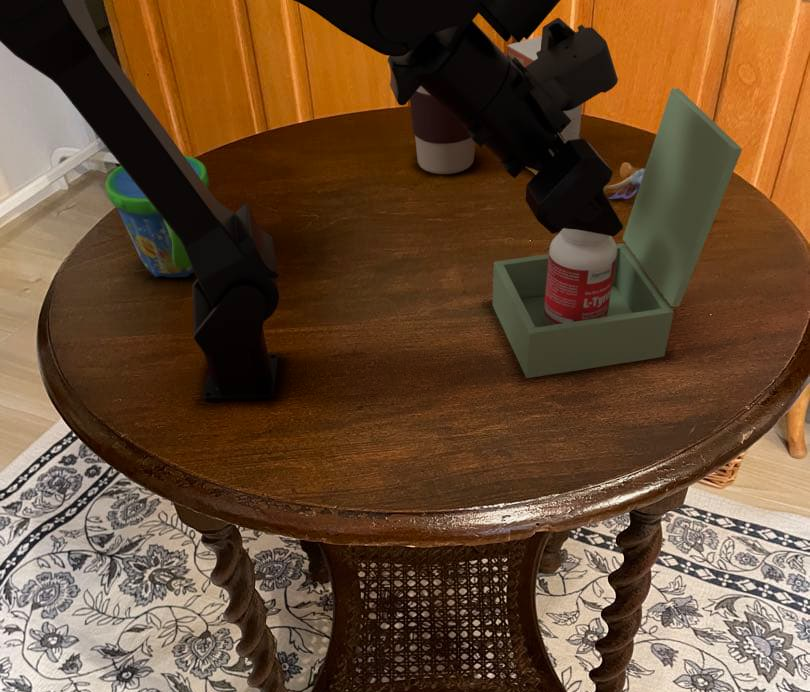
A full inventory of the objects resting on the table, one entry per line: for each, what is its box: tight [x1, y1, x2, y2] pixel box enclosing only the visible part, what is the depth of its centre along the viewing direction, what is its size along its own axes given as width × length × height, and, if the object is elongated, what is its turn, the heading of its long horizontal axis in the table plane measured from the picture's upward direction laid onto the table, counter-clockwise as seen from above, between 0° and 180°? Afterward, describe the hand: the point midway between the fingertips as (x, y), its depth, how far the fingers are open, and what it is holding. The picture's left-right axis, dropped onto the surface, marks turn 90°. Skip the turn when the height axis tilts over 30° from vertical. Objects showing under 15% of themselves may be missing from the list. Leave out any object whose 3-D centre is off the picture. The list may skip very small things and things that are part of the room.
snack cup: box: [105, 154, 210, 279], centre depth 94 cm, size 16×10×10 cm
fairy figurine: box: [603, 161, 645, 200], centre depth 100 cm, size 12×5×12 cm
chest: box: [491, 242, 675, 379], centre depth 84 cm, size 14×13×5 cm
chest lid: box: [622, 87, 743, 308], centre depth 77 cm, size 14×13×1 cm
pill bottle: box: [543, 228, 617, 326], centre depth 81 cm, size 6×6×11 cm
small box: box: [506, 35, 583, 176], centre depth 106 cm, size 8×6×13 cm
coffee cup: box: [409, 86, 476, 175], centre depth 106 cm, size 10×10×15 cm
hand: (600, 205), depth 76 cm, fingers open, 9 cm apart
